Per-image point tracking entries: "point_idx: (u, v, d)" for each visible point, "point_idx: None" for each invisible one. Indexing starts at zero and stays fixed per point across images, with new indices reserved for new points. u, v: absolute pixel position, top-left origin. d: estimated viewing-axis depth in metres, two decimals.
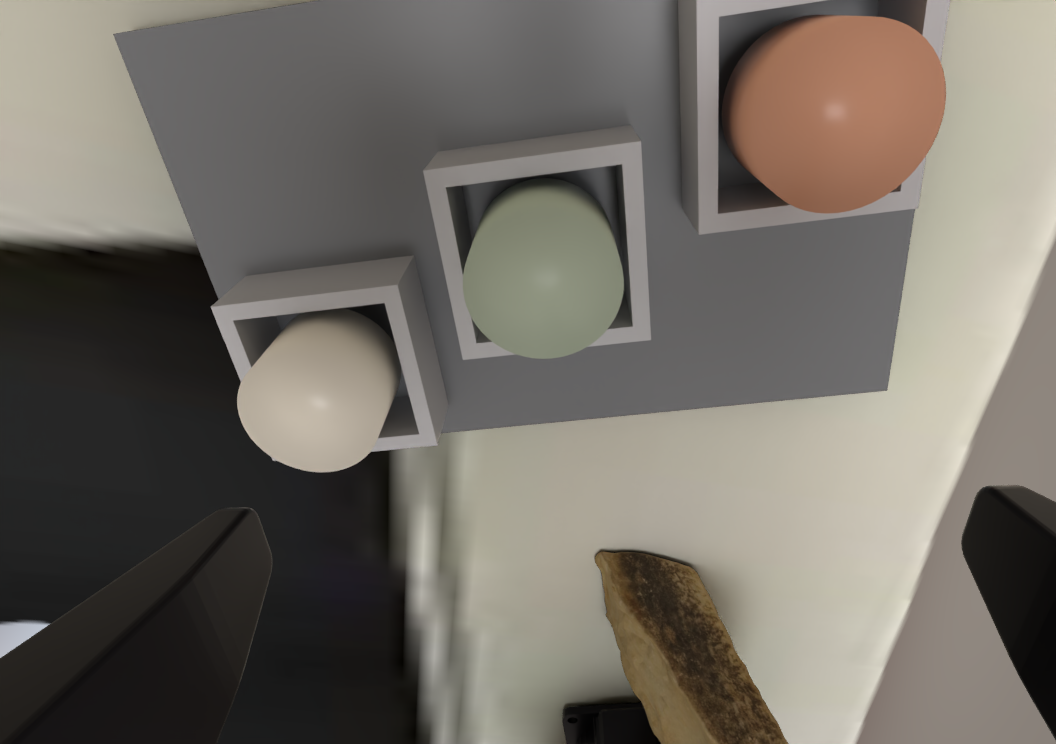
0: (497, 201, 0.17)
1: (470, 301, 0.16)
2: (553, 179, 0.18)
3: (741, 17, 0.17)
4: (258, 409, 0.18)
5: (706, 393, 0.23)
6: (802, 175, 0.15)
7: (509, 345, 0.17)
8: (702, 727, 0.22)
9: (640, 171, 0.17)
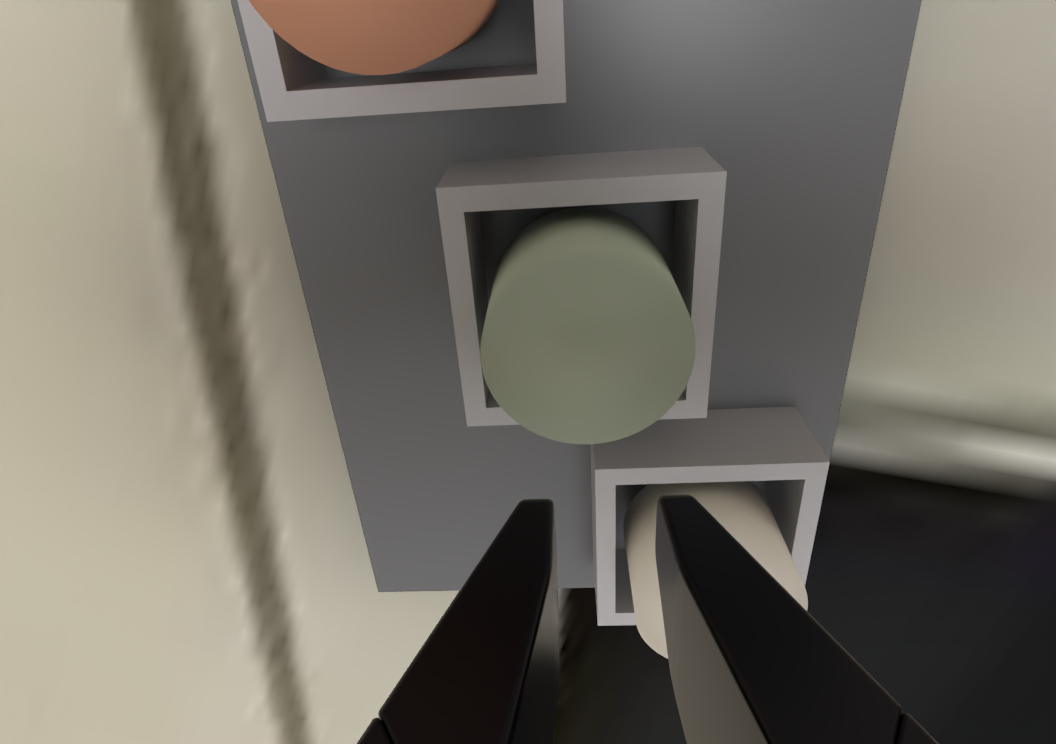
0: None
1: (595, 438, 0.13)
2: None
3: None
4: None
5: (885, 30, 0.13)
6: None
7: (665, 402, 0.13)
8: None
9: (474, 188, 0.13)
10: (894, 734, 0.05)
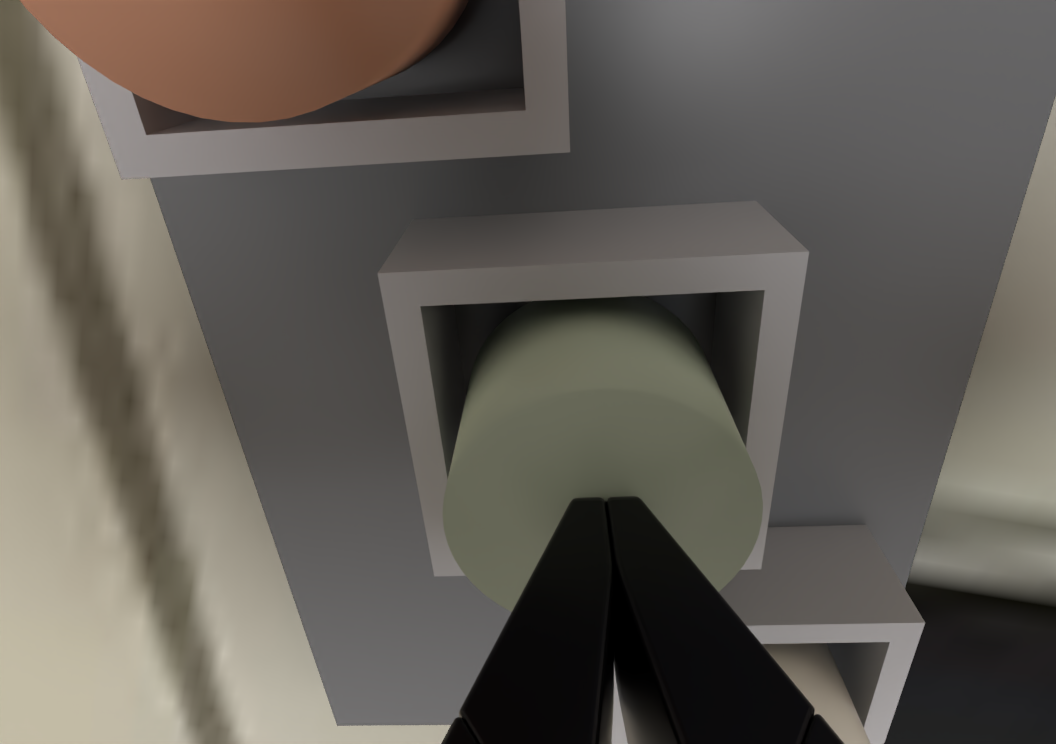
0: None
1: None
2: None
3: None
4: None
5: (1029, 40, 0.09)
6: None
7: (713, 582, 0.09)
8: None
9: (434, 273, 0.09)
10: (802, 735, 0.05)
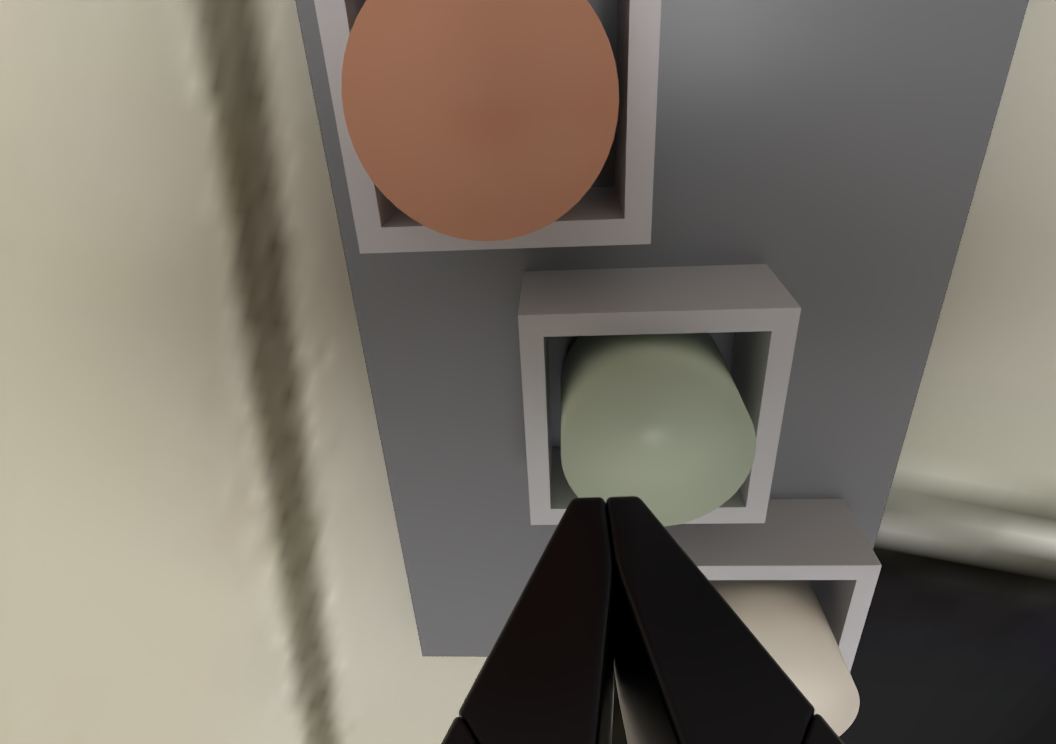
0: None
1: None
2: (562, 368, 0.16)
3: None
4: None
5: (953, 164, 0.14)
6: (553, 165, 0.10)
7: (725, 493, 0.14)
8: None
9: (555, 316, 0.13)
10: (802, 734, 0.05)
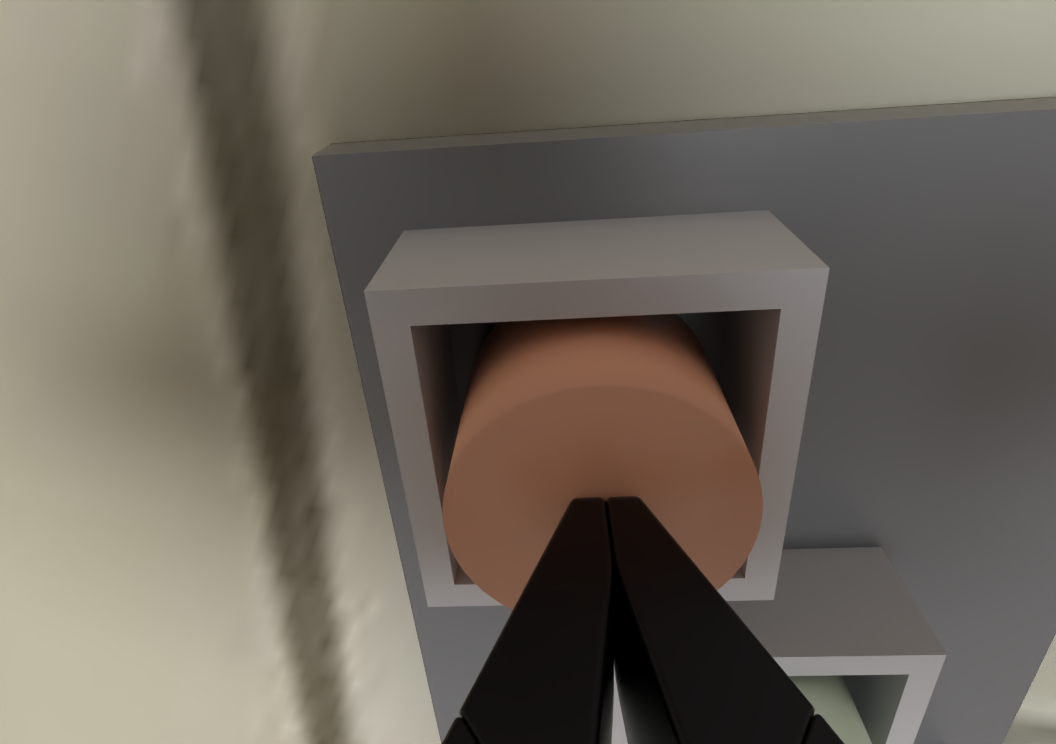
0: None
1: None
2: None
3: None
4: None
5: None
6: None
7: None
8: None
9: None
10: (802, 734, 0.05)
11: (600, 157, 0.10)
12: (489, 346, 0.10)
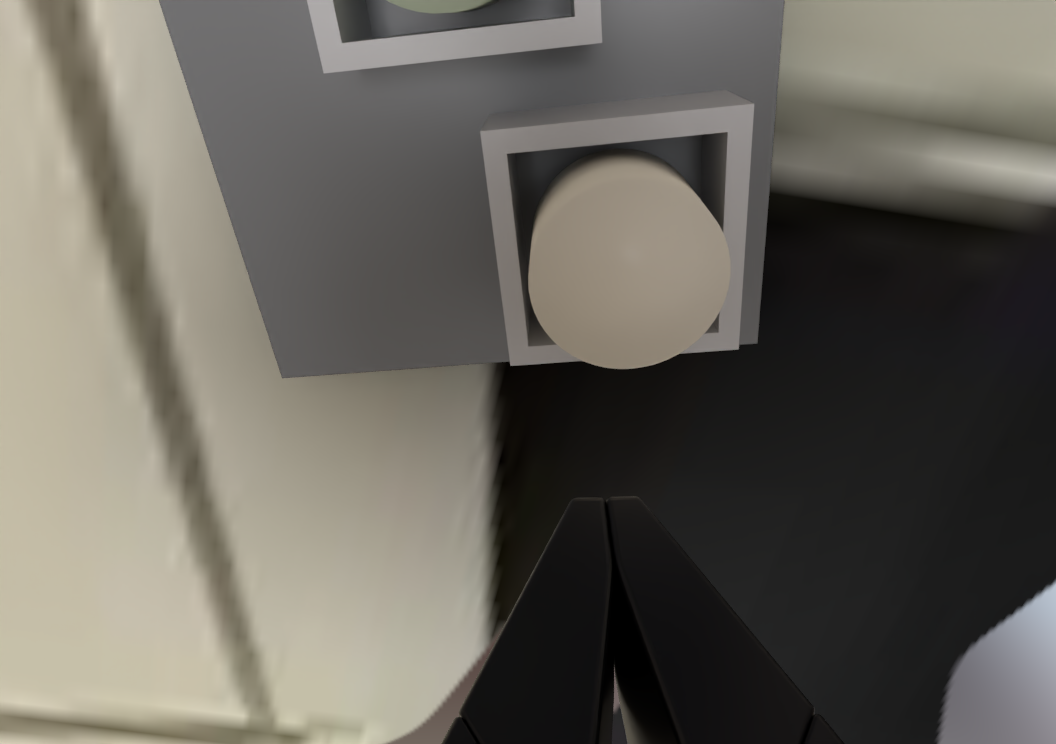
0: None
1: (453, 3, 0.12)
2: None
3: None
4: (613, 343, 0.14)
5: None
6: None
7: None
8: None
9: None
10: (802, 734, 0.05)
11: None
12: None
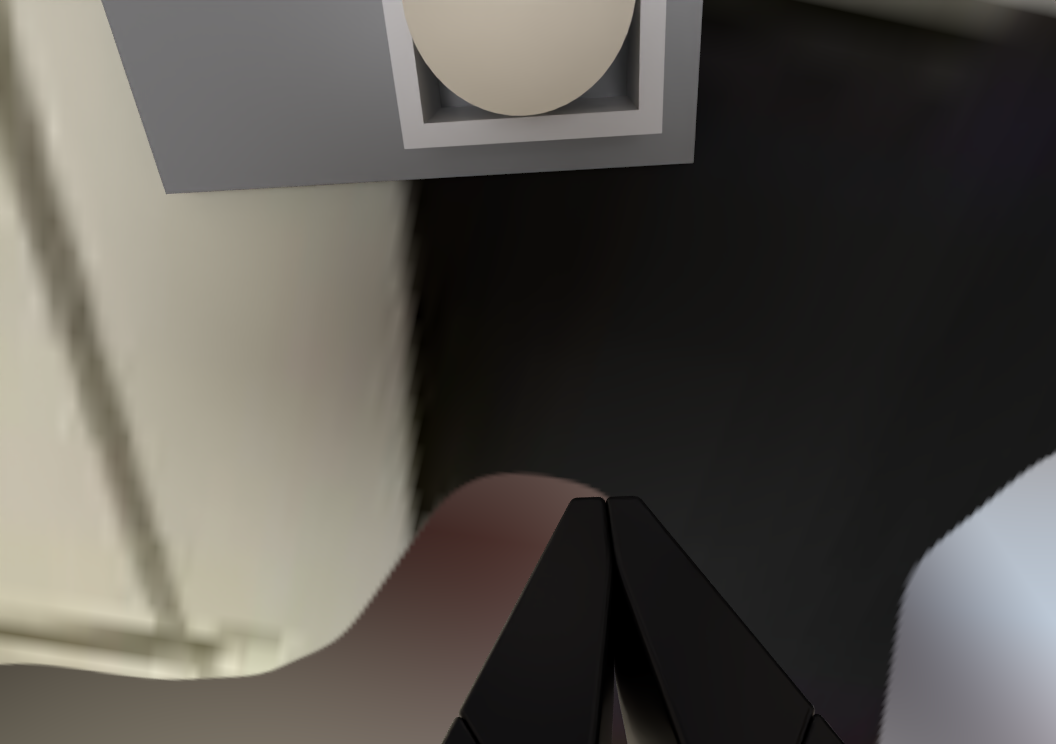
0: None
1: None
2: None
3: None
4: (504, 79, 0.12)
5: None
6: None
7: None
8: None
9: None
10: (802, 734, 0.05)
11: None
12: None
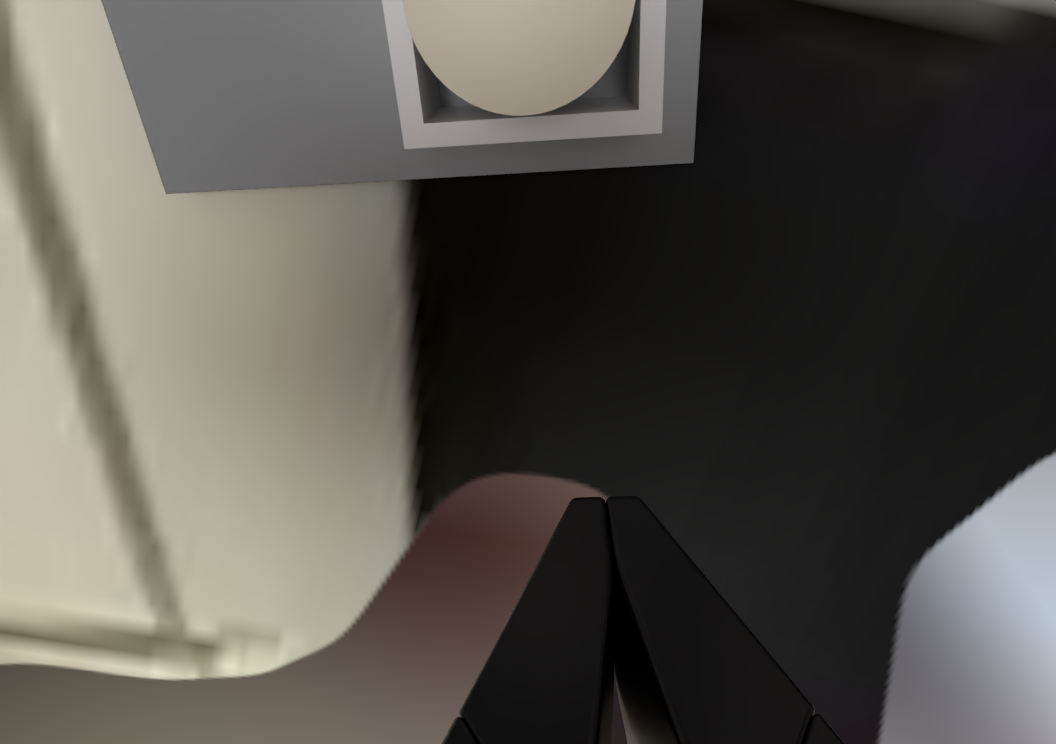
0: None
1: None
2: None
3: None
4: (504, 79, 0.12)
5: None
6: None
7: None
8: None
9: None
10: (802, 734, 0.05)
11: None
12: None
